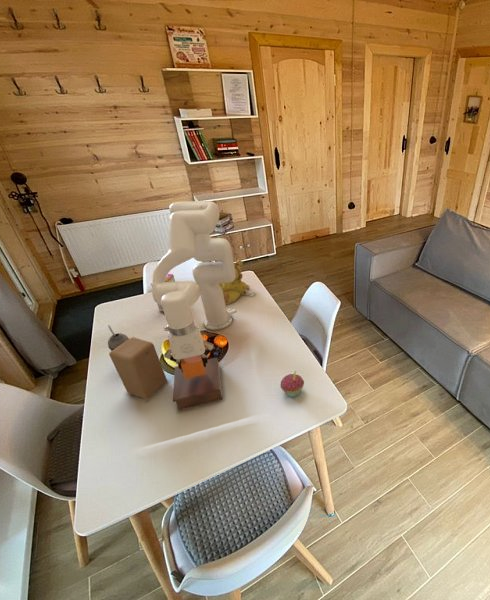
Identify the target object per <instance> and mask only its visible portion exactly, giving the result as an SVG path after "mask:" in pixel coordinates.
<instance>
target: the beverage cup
mask: <svg viewBox="0 0 490 600" xmlns="http://www.w3.org/2000/svg"><path fill="white" fill-rule="evenodd" d="M107 327H108V329H109V331H110V332H111V335H110V337H109V338H108V340H107V347H108V349H109V350H110V352H111V351H112V350H114V349H115V348H117V347H118V346H120V345H121V344H123V343H124V342H126V341H127V340H128V339H130V337H128V336H127V335H126V334H124V333H121V332H120V333H119V332H117V333H115V332H114V331H113V329H112V327H111V325H109V324H108V325H107Z"/></svg>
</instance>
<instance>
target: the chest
mask: <svg viewBox="0 0 490 600" xmlns="http://www.w3.org/2000/svg"><path fill="white" fill-rule="evenodd" d="M218 371H219V383H220V390H219V391H215V392H211V393H207V394H203V395H199V396H195V397H191V398H187V399H183V400H179V401H175V403H176V405H177V408H178V410H179V411H182V410H185V409H191V408H193V407H197V406H202V405H205V404H209V403H213V402H217V401H220V400H223V392H222V391H223V390H222V379H221V368H220V363H219V362H218Z"/></svg>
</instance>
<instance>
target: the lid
mask: <svg viewBox="0 0 490 600" xmlns="http://www.w3.org/2000/svg"><path fill="white" fill-rule="evenodd" d="M207 360H208V363H206V367H205V375H201V376H197V377H192V378H188V379H185V376H184V373H183V372H182V370H181V369H179V366H178V365H176V366H174V374H173V375H174V377H173V379H174V380H173V391H172V402H173V403H176V401H179V400H183V399H187V398H191V397H195V396H199V395H203V394H207V393H211V392H215V391H219V390H220V383H219V371H218V363H219V358H218V357H213V358H209V359H208V358H207Z"/></svg>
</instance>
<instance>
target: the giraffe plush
mask: <svg viewBox="0 0 490 600" xmlns="http://www.w3.org/2000/svg"><path fill="white" fill-rule="evenodd" d="M243 265H244V264H243V261H242V260H241V259H237V260H236V262H234V266H235V272H236V277H235V280H234V281H233V282H230V283H218V284H219V285H220V287H221V288H222V291H223V296H224V300H225V305H229V304H232V303H234V302H236V301H237V300H238V299H239V298H240V297H241V295H243V296H249V297H254V295H255V293H249V292H245V291H246V290H249V288H250V285H249V284H247V283H246V282H245V281H243V280H242V279H243V273H242V268H241V267H242V266H243Z"/></svg>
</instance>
